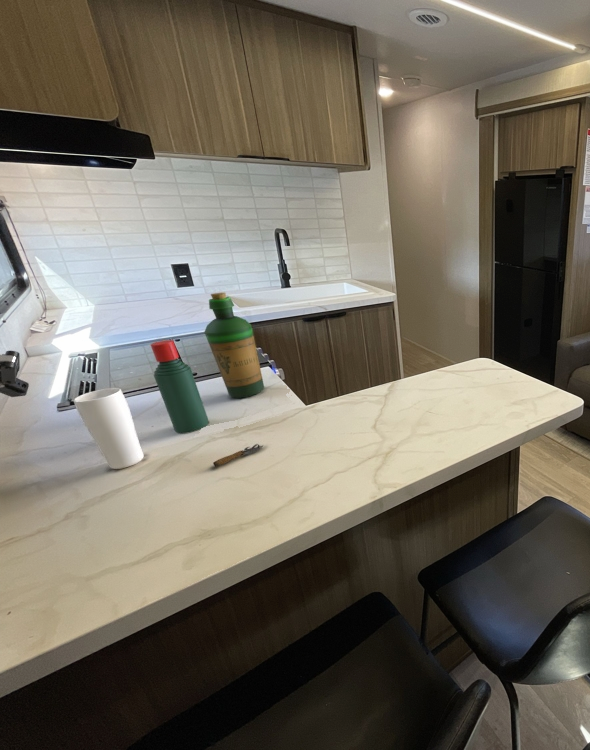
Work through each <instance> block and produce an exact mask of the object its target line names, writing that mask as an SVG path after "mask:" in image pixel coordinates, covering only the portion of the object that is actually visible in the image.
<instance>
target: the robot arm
mask: <svg viewBox="0 0 590 750" xmlns="http://www.w3.org/2000/svg"><path fill="white" fill-rule="evenodd" d="M20 355H21V354H20V352H18V351H16V350H6V351H5V353H1V354H0V394H3V395H5V396H7V397H9V398H10V397H11V398H17V397H25V396H27V393H28V390H29V387H30V383H29V382H27V381H24V380H22V379H20V378H18V377H17V376H18V374H19V371H20V368H21V363H20V361H21V360H20V359H21V358H20V357H21V356H20Z"/></svg>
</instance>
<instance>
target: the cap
mask: <svg viewBox="0 0 590 750" xmlns="http://www.w3.org/2000/svg"><path fill="white" fill-rule="evenodd" d="M150 347H151V350H152V353H153V355H154V358H155V360H156V362H158V363H159V362H165V361H170V360H174V359H179V358H180V356H179V353H178V349H177V347H176V344H175V342H174V340H173V339H168V340H161V341H156V342H153V343H150Z"/></svg>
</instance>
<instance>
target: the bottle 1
mask: <svg viewBox="0 0 590 750" xmlns="http://www.w3.org/2000/svg"><path fill="white" fill-rule="evenodd" d="M153 373H154V374H153V377H154V380H155V383H156V385H157V387H158V390H159V393H160V395H161V398H162V401H163V403H164V406H165V408H166V412H167V414H168V417H169V419H170V422H171V424H172V427H173V430H174V432H175V433H176V434H187V433H192V432H196V431H199V430H201V429H203V428H205V427H207V426H208V425H209V424H210V421H209V418H208V415H207V411H206V409H205V406H204V403H203V399H202V397H201V395H200V391H199V389H198V385H197V383H196V380H195V376H194V374H193V371H192V369H191V367H190V366H189V364H186V362H183V361H182V360H180V359H179V358H177V359H174V360H170V361H165V362H158V364H157V367H156V368H155V370H154V371H153Z"/></svg>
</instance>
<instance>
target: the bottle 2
mask: <svg viewBox="0 0 590 750" xmlns="http://www.w3.org/2000/svg"><path fill="white" fill-rule="evenodd" d="M210 297H211V298H210V299H208V308H209V310H212V312H213V314H214V317H215V318H214V319H212V320H211V321H209V323H208V324H207V325H206V327H205V330H204V334H205V337H206V340H207V342H208V345H209V347H210V350H211V352H212V355H213V358H214V360H215V362H216V366H217V368H218V371H219V373H220V375H221V378H222V381H223V384H224V386H225V388H226V390H227V393H228V396H229V397H231V398H234V399H244V398H249V397H253V396H255V395H258V394H260V393H261V392H263V391H264V389H265V384H264V379H263V374H262V371H261V366H260V365H261V364H260V359H259V356H258V351H257V346H256V341H255V336H254V332H253V331H254V330H253V327H252V324H251V323H250V322H249V321H248V320H247V319H245V318H242V317H240V316H237V315H234V314H235V313H234V309H233V307H235V303H234V302H233V300H232V298H231V297H230V296H227V293H226V292H215V293H211V294H210Z"/></svg>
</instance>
